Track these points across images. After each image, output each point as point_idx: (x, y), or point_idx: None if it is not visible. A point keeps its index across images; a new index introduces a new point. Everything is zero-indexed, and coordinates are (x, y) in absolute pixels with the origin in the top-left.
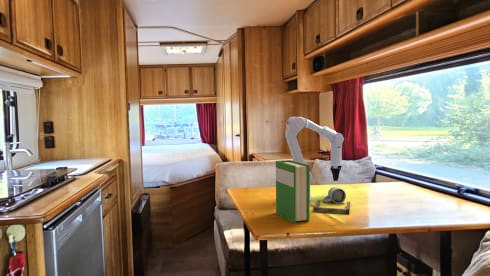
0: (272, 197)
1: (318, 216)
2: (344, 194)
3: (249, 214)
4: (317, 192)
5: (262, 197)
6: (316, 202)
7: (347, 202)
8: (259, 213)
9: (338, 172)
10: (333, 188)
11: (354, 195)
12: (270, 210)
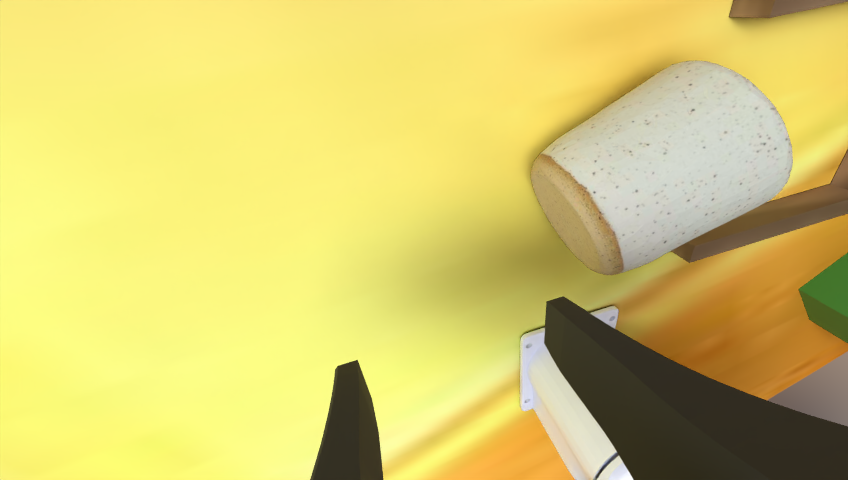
0: (545, 458)
1: None
2: (689, 87)
3: (809, 368)
4: (296, 391)
5: (554, 477)
6: (755, 240)
7: (795, 8)
8: (804, 354)
9: (742, 402)
10: (703, 232)
11: (185, 36)
12: (770, 350)
